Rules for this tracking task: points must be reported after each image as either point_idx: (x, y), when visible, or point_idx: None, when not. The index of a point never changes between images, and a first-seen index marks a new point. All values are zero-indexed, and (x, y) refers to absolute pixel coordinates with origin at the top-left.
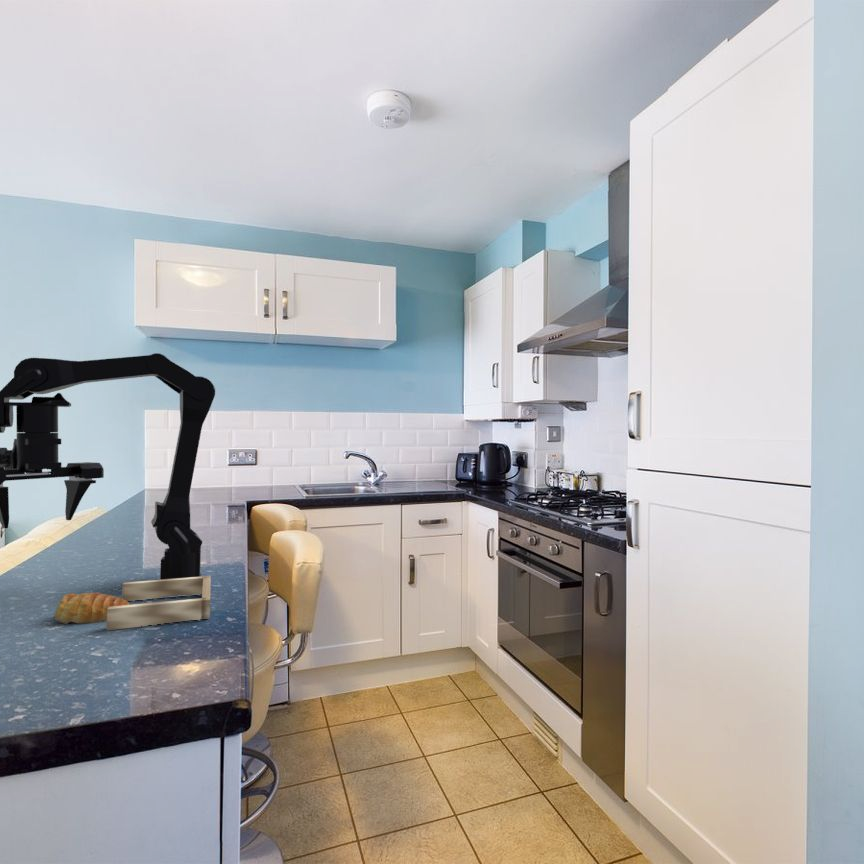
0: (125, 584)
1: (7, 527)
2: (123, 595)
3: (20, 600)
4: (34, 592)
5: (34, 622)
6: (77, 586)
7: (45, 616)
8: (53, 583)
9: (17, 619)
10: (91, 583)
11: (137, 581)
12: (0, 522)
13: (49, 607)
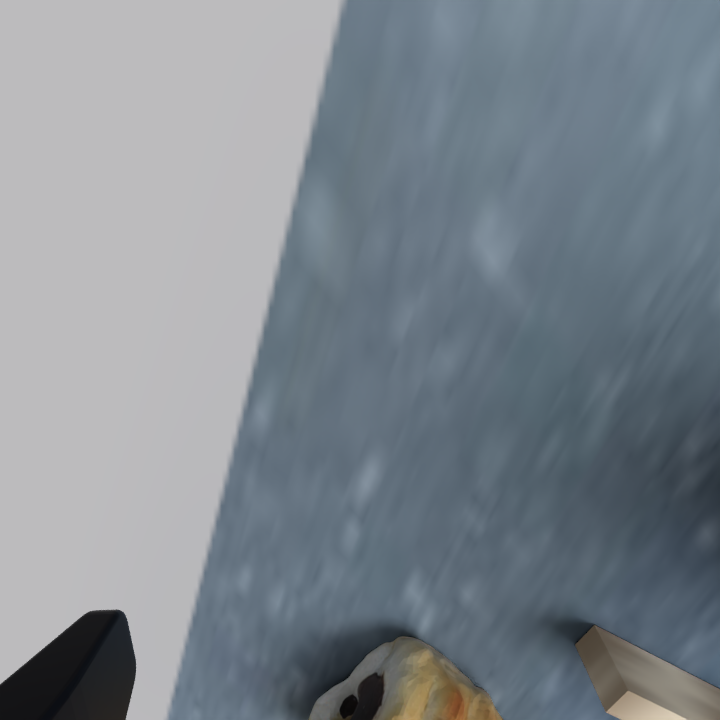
0: (613, 715)
1: (129, 676)
2: (589, 670)
3: (326, 301)
4: (432, 182)
5: (266, 651)
6: (630, 237)
7: (316, 614)
8: (597, 27)
9: (233, 580)
10: (709, 229)
11: (671, 710)
12: (33, 666)
13: (371, 515)
